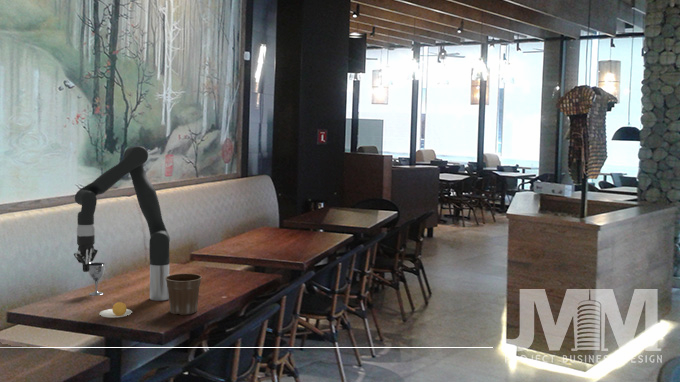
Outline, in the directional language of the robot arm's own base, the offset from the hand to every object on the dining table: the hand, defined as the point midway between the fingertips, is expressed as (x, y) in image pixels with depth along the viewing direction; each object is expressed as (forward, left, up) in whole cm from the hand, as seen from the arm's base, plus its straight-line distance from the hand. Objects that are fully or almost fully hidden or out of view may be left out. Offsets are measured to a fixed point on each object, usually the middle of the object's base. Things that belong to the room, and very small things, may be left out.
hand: (86, 271), depth 320 cm
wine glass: (-3, -26, -17) cm, 31 cm away
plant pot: (-43, +13, -17) cm, 48 cm away
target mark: (-13, +11, -17) cm, 24 cm away
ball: (-15, +15, -14) cm, 25 cm away
